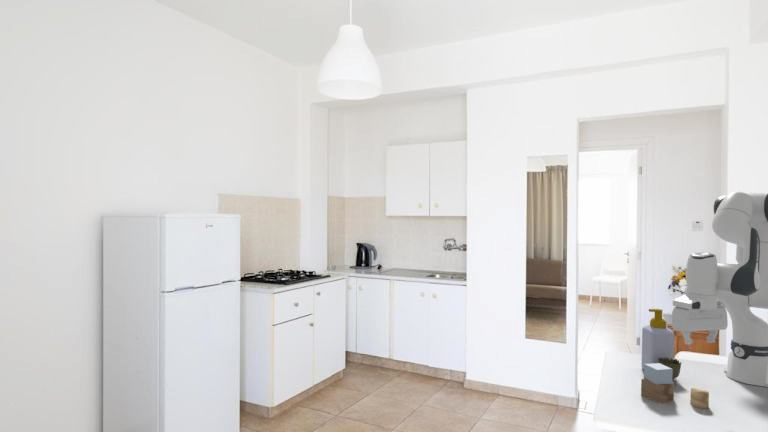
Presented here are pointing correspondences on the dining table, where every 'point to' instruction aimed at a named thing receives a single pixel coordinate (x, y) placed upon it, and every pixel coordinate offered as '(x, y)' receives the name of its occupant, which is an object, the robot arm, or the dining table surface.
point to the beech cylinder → (699, 398)
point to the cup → (671, 366)
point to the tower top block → (658, 373)
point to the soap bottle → (657, 340)
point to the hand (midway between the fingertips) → (699, 343)
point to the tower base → (657, 391)
